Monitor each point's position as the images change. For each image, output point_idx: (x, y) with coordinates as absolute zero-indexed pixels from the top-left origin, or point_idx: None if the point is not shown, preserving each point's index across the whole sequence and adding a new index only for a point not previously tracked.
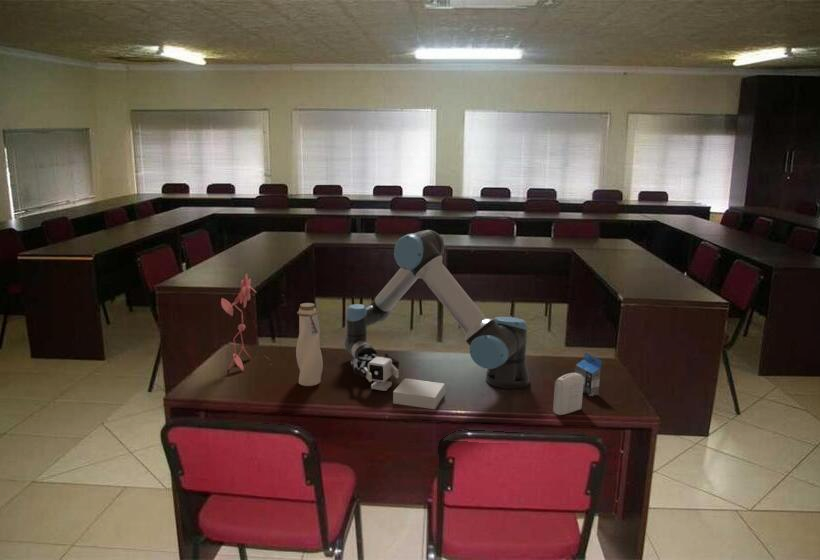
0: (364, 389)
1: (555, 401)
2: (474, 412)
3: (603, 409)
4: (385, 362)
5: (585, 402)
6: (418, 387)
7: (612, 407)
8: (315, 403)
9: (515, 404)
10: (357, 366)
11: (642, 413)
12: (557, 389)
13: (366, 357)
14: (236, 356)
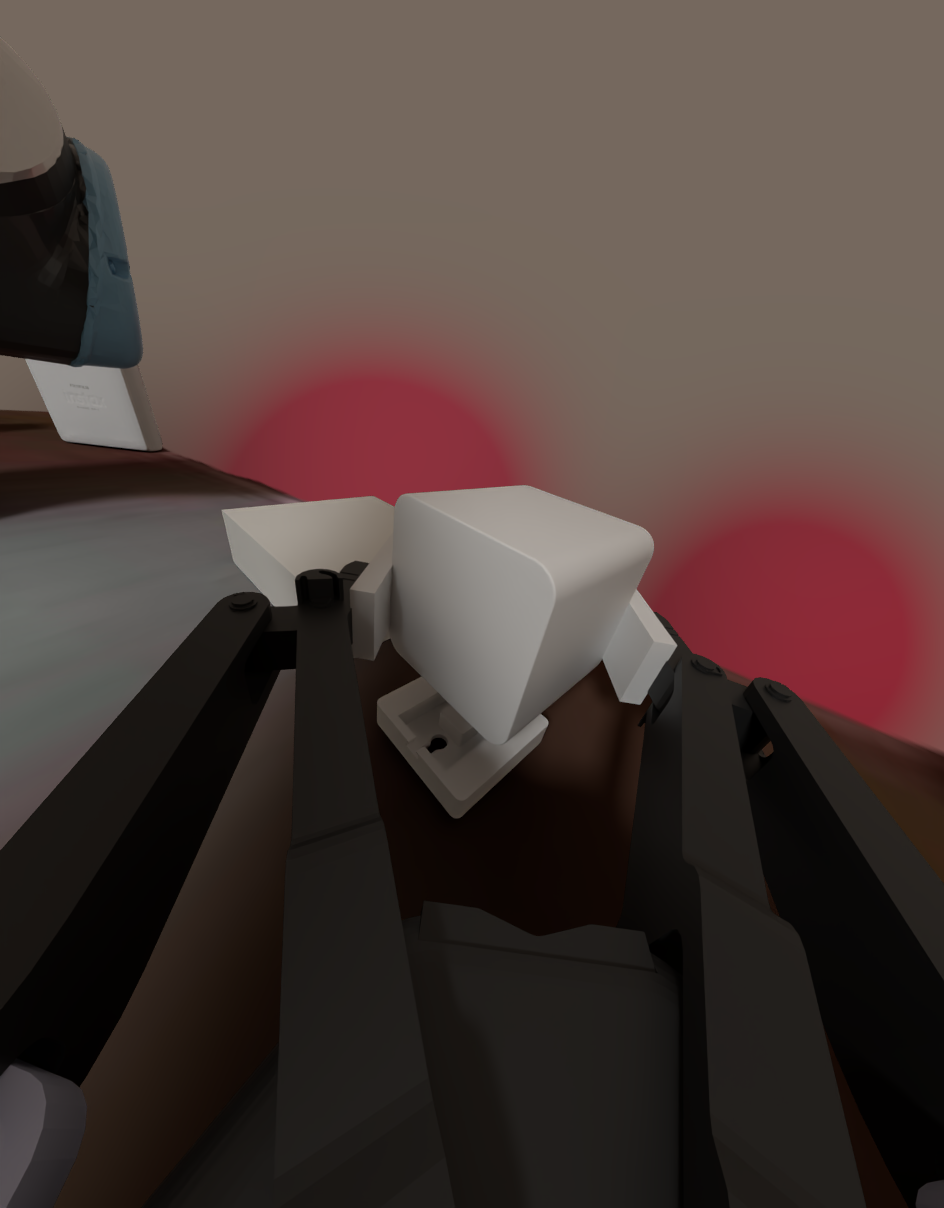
0: (584, 785)
1: (145, 418)
2: (294, 501)
3: (54, 428)
4: (497, 487)
5: (15, 435)
6: (358, 533)
7: (25, 423)
8: (863, 741)
9: (152, 478)
10: (767, 706)
11: (37, 413)
12: (137, 379)
13: (729, 1061)
14: None
